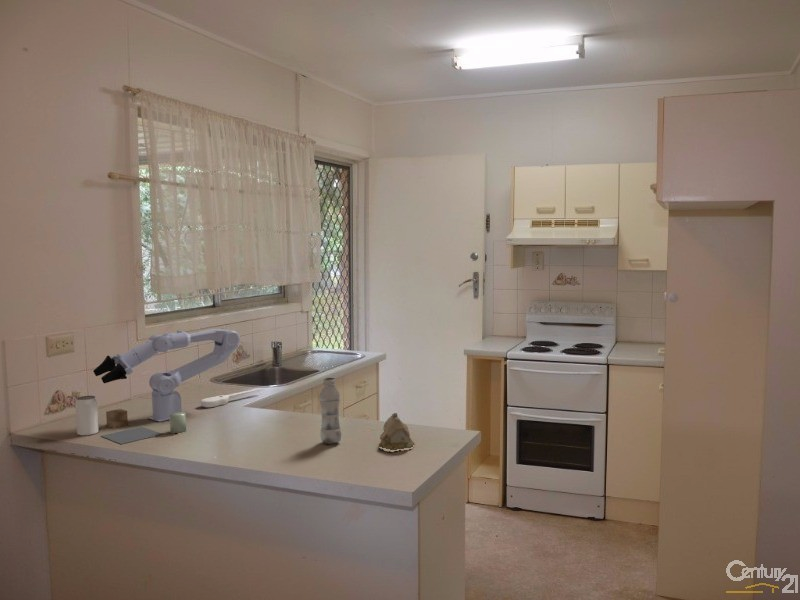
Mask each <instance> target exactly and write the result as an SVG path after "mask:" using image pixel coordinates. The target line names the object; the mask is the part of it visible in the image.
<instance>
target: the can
mask: <svg viewBox="0 0 800 600" xmlns="http://www.w3.org/2000/svg"><path fill="white" fill-rule="evenodd" d="M74 406H75V423H76V424H75V425H76V434H77V435H78V436H81V437H85V436H88V437H89V436H93V435H96V434H98V432H99V414H98V411H99V410H98V400H97V399H96V396H95V395H83V396H82V395H81V396H78V397H76V401H75V405H74Z"/></svg>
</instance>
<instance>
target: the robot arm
mask: <svg viewBox="0 0 800 600" xmlns="http://www.w3.org/2000/svg"><path fill="white" fill-rule="evenodd" d="M240 340H241V337H240V334H239V333H238V331H236V330H232V329H231V330H230V329H227V328H211V329H207V330H202V331H197V332H193V333H187V332H186V331H185V330H184V331H183V330H181V329H179V330H178V329H177V330H176V332H171V333H168V332H164V333H163V335H161V334H154V335H151V336H150V337H149V338H148V340H147V341H145V342H142V343H141V344H139V345H137V346H135V347H133V348H131V349H129V350H128V351H126V352H124V353H123V354H121V353H119V352H118V353H116V354H113V355H112V356H110V355H106V357H105V358H104V360H103V361H102V362H101V363H100V364H99V365H98V366H97V367H96V368H95V369H94V370H93V371H92V372H93V373H94V375H95V376H96V377H99V376H101V375H102V376H101V378H100V379H101V381H102V383H103V384H108V383H110V382H114V381H118V380H126V379H127V378H128V376H127V375H130V374H132V373H133V368H135V367H137V366H138V365H140V364H142V363H143V362H145V361H147V360H149V359H151V358H152V357H155V355H158V354H159V353H166V352H168V351H170V350H171V351H172V350H176V349H182V348H187V347H188V346H189V345H190V343H198V342H199V343H200V342H204V341H213V342H214V347H213V350H212V352H210V353H207V354H205V355H203V356H202V357H199V358H197V359H194V360H192V361H190V362H188V363H186V364H183V365H182V366H179V367H178V368H176V369H172V370H167V371H164V372H156V373H154V374H152V375H151V376H150V377H149V381H148V384H149V387H150V388H151V389H152V390H151V391H152V392H151V407H152V409H151V410H152V415H151V416H148V417H147V419H148V420H149V419H150V420H153V421H156V422H164V421H168V420H169V421H170V414H171V413H175V412H182V410H183V409H182V397H181V395H180V392H178V391H174V390H175V389H176V388H177V387H179V386H180V385H181V383H182V382H184V381H185V382H186V380H189V379H191V378H193V377H196V376H197V375H199V374H201V373H203V372H205V371H208V370H209V369H211V368H214V367H215V366H218V365H220V364H222V363H224V362H226V361H227V360H228V358H229V357H230V356H231V354H232V353H233V352H234V351H235V350H237V349H238V348H239V345H240ZM103 374H104V375H103Z"/></svg>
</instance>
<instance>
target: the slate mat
mask: <svg viewBox="0 0 800 600" xmlns="http://www.w3.org/2000/svg"><path fill="white" fill-rule="evenodd" d="M161 434H163V433H161V432H158V431H155V430H152V429H150V428H146V427H143V426H138V427H134V428H131V429H124V430H119V431H116V432H111V433H107V434H103V435H100V437H102V438H104V439H106V440H109V441H112V442H114V443H116V444H119V445H125V444H128V443H133V441H134V442H138V441H142V440H145V438H146V439H150V438H153V436H154V437H157V435H159V436H162V435H161ZM149 437H150V438H149ZM141 439H142V440H141ZM137 440H138V441H137Z"/></svg>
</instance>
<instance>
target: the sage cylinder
mask: <svg viewBox="0 0 800 600" xmlns="http://www.w3.org/2000/svg"><path fill="white" fill-rule="evenodd" d="M186 418H187V417H186V412H184V411H183V412H175V413H171V414H170V419H169V428H170V429H169V430H170V431H169V432H171V433H170V434H172V433H181V434H183V433H182V432H185V431H186V432H187V419H186ZM186 432H185V433H186Z"/></svg>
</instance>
